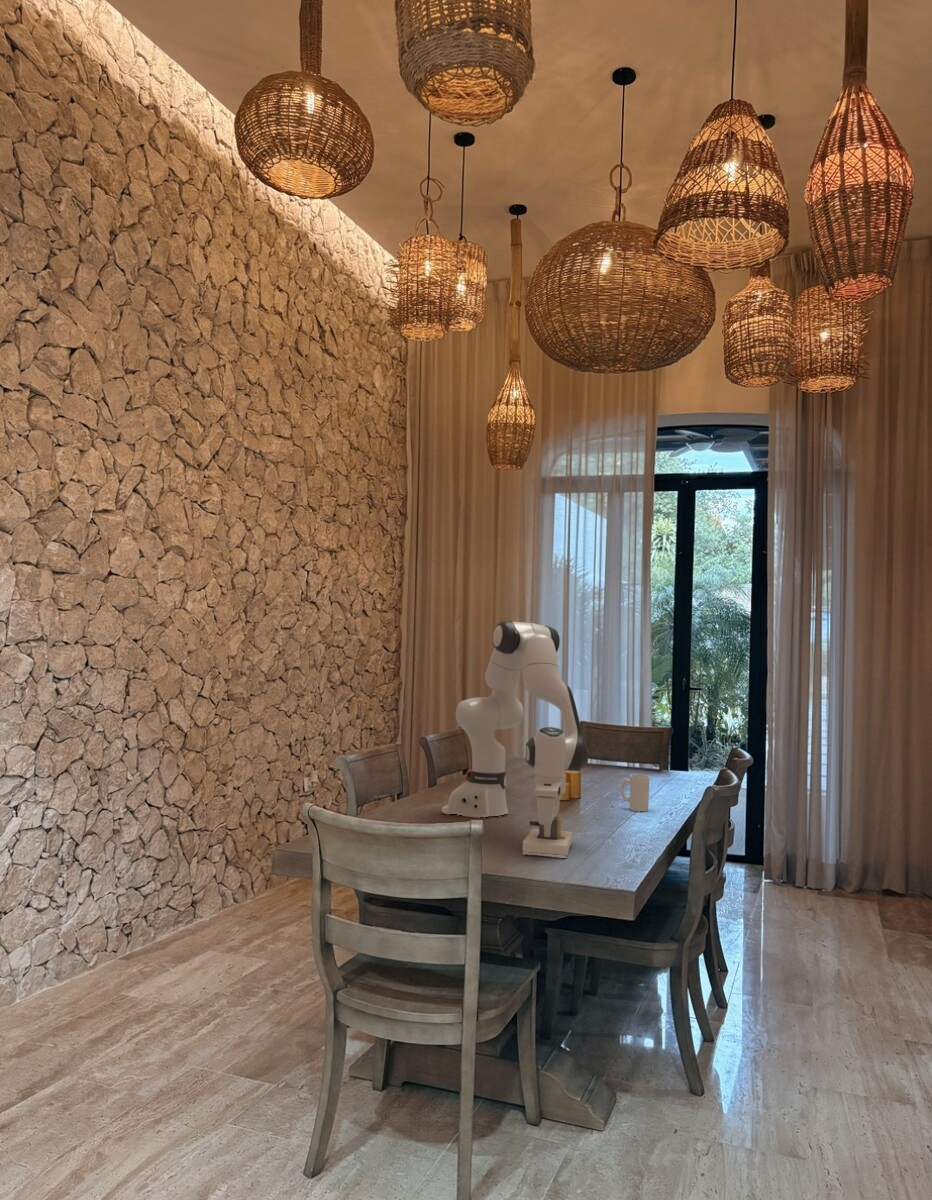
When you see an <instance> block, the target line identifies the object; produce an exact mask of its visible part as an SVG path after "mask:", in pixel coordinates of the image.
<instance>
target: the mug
mask: <svg viewBox="0 0 932 1200" xmlns="http://www.w3.org/2000/svg"><path fill="white" fill-rule="evenodd" d="M627 783H628V784H629V796H627V795H626V794H625V791H624V788H625V787H624V786H625V784H627ZM649 793H650V775H647V774H635V773H634V774H630V775H629V778H627V777H624V778H623V779H622V782H621V784H620V794H621V797H622V800H623V801H624V802H628V803H629V810H630V811H631V810H633V811H632V812H635V811H642V812H641V813H644V812H643V811H647V812H648V811H649V797H650V794H649Z"/></svg>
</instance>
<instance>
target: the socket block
mask: <svg viewBox="0 0 932 1200" xmlns="http://www.w3.org/2000/svg"><path fill="white" fill-rule="evenodd" d="M573 834H574V832H573V831H568V830H562V834H561V839H558V840H551V839H539V828H531V829H530V830H529V832H528V834H527V835H526V836H525V838H524V840H523V841H522V853H523V852H530V853H540V854H553V855H564V856H566V854H567V852H568V850H569V848H570V846H571V843H572V844H573ZM571 847H572V846H571ZM570 849H571V848H570ZM569 851H570V850H569Z"/></svg>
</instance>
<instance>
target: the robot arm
mask: <svg viewBox="0 0 932 1200" xmlns="http://www.w3.org/2000/svg"><path fill="white" fill-rule="evenodd" d="M559 634H560V633H559V632H558V631H557V629H556V628H553V627H551V626H549V625H541V624H538V623H533V622H530V621H529V622H523V621H512V620H502V621H500V622H498V623H497V624H496V626H495V627H494V629H493V633H492V644H493V647H494V648H493V650H492V653H491V655H490V659H489V661H488V665H487V668H486V672H485V675H484V680H485V682H486V685H487V686H488V687H489V688H490V689H491V694H490V695H489V696H488V697H487V696H485V697H470V698H467V699H464V700H461V701H460V702H459V703H458V705H457V707H456V709H455V719H456V722H457V724H458V725H459V727H460V728H461V729H463V731H465V734H467V736H468V738H469V741H470V745H471V754H472V755H471V756H472V759H471V760H472V761H471V762H472V763H471V764H472V765H471V769H468V770H467V771H466V772H465V773H466V774H465V780H466V781H464V782H463V783H462V784H460V785H459V786H458V787H456V788H455V789H454V790H453V791H452V792H451V793H450V795H449V798H448V804H446V805H444V806H442V808H441V813H442V814H443V813H444V814H446V815H450V814H457V815H456V816H459V815H462V816H461V817H468V818H475V819H481V818H480V817H484V818H483V819H486V818H485V817H488V816H498V815H504V814H507V813H508V814H509V810H508V805H507V800H506V787H507V771H506V749H505V747H504V745H503V744H502V743H500V741H497V739H496V737H495V733H494V730H507V729H511V728H513V727H516V726H519V725H520V724H521V723H522V722H523V719H524V714H525V712H524V707H523V704H522V703H521V702H520V700H519V698H518V696H517V688H518V683H519V680H520V677H521V673H522V682H523V685H524V688H525V689H526V691H527V692H528V693H529V694H530V695H531V696H534V697H535V698H537V699H539V700H541V701H545V702H546V703H548V704H551V705H553V706H555V708H557V709H559V710H560V712H561V714H562V715H561V716H562V718H563V723H564V726H565V731H566V733H565V732H564V731H563V730H562V729H561V728H557V727H552V726H548V727H545V726H544V727H541V728H540V729H538V731H537V735H536V736H533V737H531V738H530V739H529V740H528V741H527V742H526V743H525V762H526V764H527V765H528V766H530V767H531V768H534V769H535V772H534V789H533V790H534V796H535V797H536V806H537V807H536V808H537V809H536V810H537V811H536V812H537V822H539V824H543V826H544V836H545V837H550V836H551V824H552V822H553V820H554V819H555V817H557V815H558V813H559V812H560V799H561V798H562V794H565V793H566V782H567V779H566V778H567V774H566V771H572V772H578V771H580V770H582V769H583V768H584V767H585V766H586V765H587V764H588V762H589V748H588V745H587V743H586V742H587V741H586V740H585V736H584V733H583V729H582V727H581V722H580V718H579V714H578V709H577V706H576V701H575V699H574V695H573V691H572V690H571V688H570V686H569V685H568V684H566V683H565V682H564V680H563V679H562V678H561V675H560V672H559V662H558V655H557V653H558V650H559V648H560V644H561V643H560V642H561V641H560V640H561V638H560V635H559ZM565 734H566V736H565ZM508 814H507V815H508Z"/></svg>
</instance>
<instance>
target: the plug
mask: <svg viewBox="0 0 932 1200" xmlns="http://www.w3.org/2000/svg"><path fill="white" fill-rule="evenodd" d="M529 826H535V827H539V828H538V829H539V839H551V840H558V839H561V834H562V831H563V827H562V826H563V817H559V816H556V817H555V819H554V820H553V822H552V824H551V836H550V837H545V836H544V826H543V824H539V822H538V821H537V820H536V821H535V820H530V821H529Z"/></svg>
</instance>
